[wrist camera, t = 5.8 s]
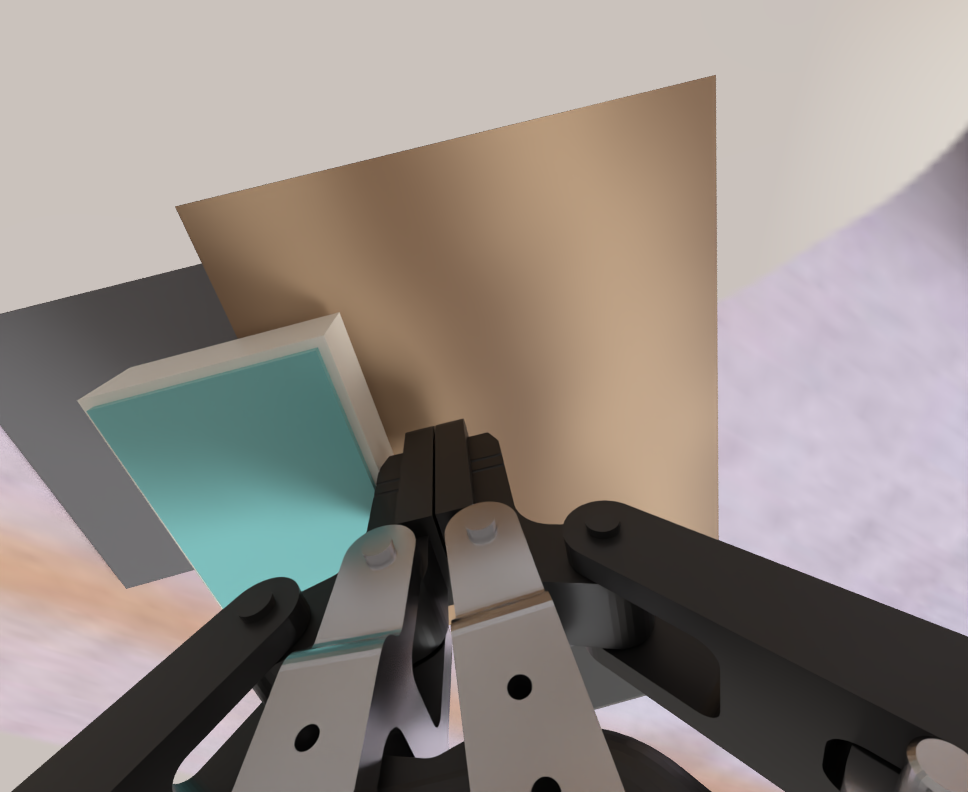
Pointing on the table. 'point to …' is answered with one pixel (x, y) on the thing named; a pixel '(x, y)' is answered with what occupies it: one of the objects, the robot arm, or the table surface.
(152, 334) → the rubber mat
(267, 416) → the card box
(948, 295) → the table surface
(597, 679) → the smartphone
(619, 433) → the brown wooden block
